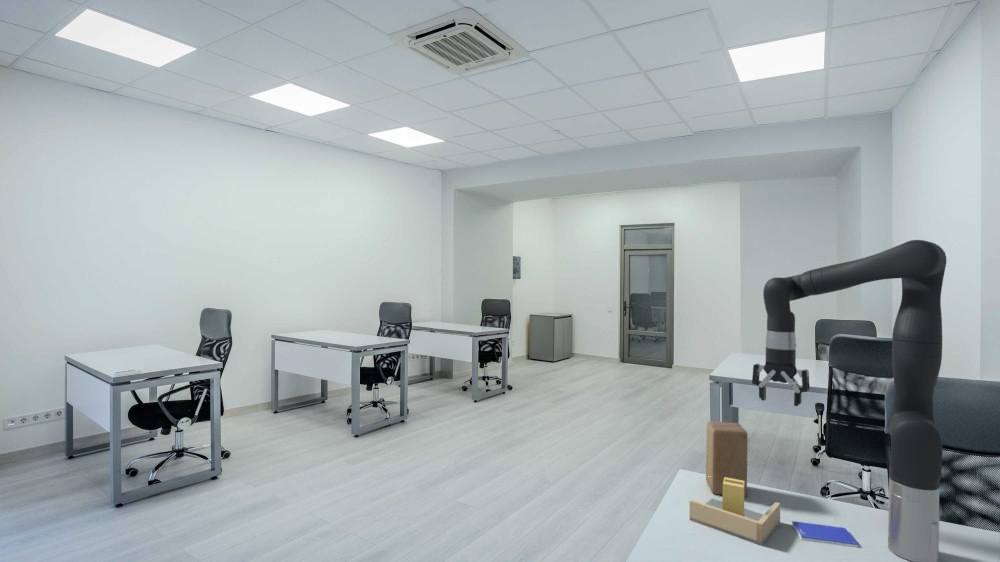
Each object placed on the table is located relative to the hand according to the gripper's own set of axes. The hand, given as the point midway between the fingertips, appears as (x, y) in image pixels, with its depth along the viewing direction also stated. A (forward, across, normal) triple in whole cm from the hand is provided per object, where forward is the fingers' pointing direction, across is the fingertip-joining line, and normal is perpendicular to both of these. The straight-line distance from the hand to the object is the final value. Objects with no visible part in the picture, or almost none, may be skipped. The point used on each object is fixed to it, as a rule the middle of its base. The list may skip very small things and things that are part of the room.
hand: (779, 402), depth 141 cm
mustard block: (+29, -6, -19) cm, 35 cm away
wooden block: (+30, -15, +1) cm, 34 cm away
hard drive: (+31, +13, -9) cm, 35 cm away
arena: (+30, -6, -18) cm, 36 cm away
